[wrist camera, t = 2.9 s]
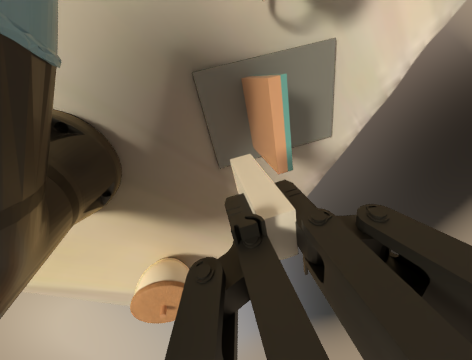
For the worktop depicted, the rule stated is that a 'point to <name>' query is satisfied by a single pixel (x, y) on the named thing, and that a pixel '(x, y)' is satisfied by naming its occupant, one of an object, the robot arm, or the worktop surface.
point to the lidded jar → (159, 291)
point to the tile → (269, 118)
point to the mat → (299, 97)
